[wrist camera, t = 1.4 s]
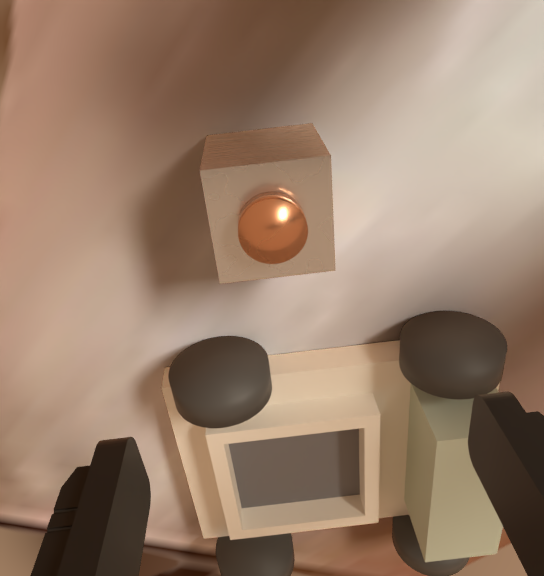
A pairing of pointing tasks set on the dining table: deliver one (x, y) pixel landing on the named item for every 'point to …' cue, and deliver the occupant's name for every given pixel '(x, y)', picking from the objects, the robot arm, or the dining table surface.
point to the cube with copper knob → (269, 202)
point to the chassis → (339, 442)
